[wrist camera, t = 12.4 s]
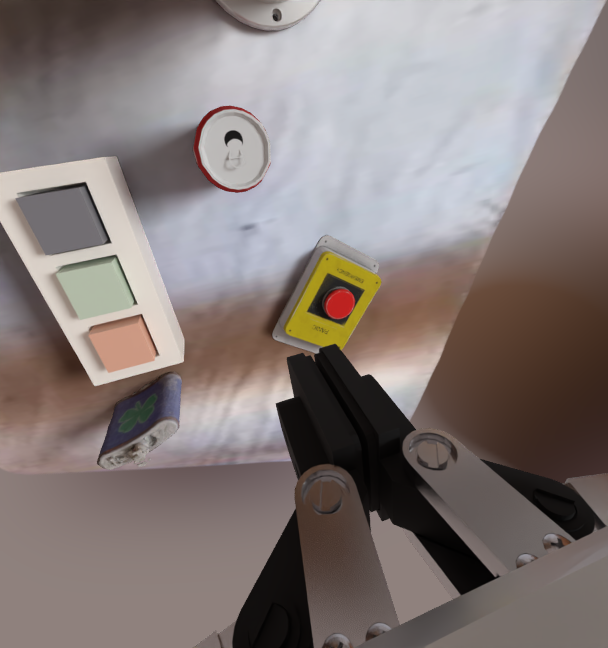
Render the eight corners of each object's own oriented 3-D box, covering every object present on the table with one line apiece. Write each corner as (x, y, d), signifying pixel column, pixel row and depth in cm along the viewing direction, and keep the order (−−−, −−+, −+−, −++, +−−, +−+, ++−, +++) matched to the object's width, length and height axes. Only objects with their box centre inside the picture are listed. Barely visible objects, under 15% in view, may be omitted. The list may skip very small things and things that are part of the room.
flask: (173, 367, 41) (169, 428, 32) (188, 382, 43) (187, 444, 34) (108, 405, 41) (85, 477, 32) (125, 419, 43) (107, 492, 34)
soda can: (254, 178, 35) (281, 188, 24) (201, 186, 34) (205, 200, 23) (244, 116, 32) (269, 98, 22) (186, 122, 31) (183, 106, 21)
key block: (6, 173, 29) (-26, 176, 24) (116, 156, 30) (104, 156, 26) (105, 360, 38) (94, 386, 34) (184, 339, 40) (183, 361, 36)
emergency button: (397, 271, 40) (336, 371, 44) (379, 261, 44) (325, 354, 48) (335, 239, 36) (275, 353, 40) (321, 231, 40) (268, 336, 44)
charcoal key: (36, 193, 28) (15, 198, 25) (92, 183, 29) (79, 187, 26) (62, 243, 30) (45, 255, 27) (113, 234, 31) (103, 243, 28)
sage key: (70, 260, 31) (55, 274, 28) (120, 250, 32) (111, 262, 28) (91, 302, 33) (80, 319, 30) (137, 292, 34) (131, 307, 31)
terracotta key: (98, 316, 34) (88, 335, 31) (143, 306, 35) (138, 322, 31) (116, 352, 36) (108, 373, 33) (157, 341, 37) (154, 360, 34)
